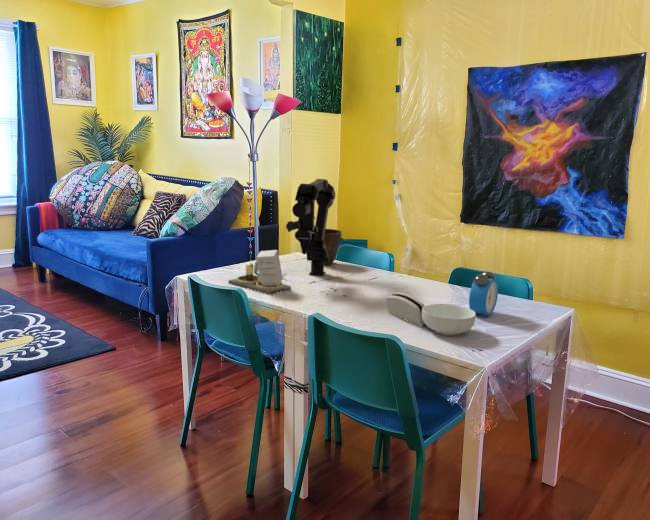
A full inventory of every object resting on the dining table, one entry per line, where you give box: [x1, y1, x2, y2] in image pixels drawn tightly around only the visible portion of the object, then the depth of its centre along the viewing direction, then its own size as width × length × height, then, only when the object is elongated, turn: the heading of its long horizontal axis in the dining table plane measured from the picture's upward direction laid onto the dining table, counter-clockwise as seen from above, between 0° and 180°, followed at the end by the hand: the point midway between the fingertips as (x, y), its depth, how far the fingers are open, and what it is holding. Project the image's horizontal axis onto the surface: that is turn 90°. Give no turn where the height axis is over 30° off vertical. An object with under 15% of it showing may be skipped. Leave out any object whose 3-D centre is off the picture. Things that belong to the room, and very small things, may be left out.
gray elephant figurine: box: [253, 259, 259, 274], centre depth 246 cm, size 9×12×8 cm
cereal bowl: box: [422, 303, 477, 336], centre depth 177 cm, size 17×17×7 cm
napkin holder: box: [386, 292, 426, 327], centre depth 188 cm, size 17×5×10 cm, turn 35°
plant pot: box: [324, 228, 343, 266], centre depth 268 cm, size 15×15×16 cm
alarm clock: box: [468, 271, 499, 318], centre depth 196 cm, size 13×6×15 cm, turn 144°
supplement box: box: [256, 249, 283, 286], centre depth 220 cm, size 7×7×13 cm
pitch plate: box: [228, 262, 292, 295], centre depth 224 cm, size 24×12×8 cm, turn 50°
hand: (306, 252), depth 230 cm, fingers open, 9 cm apart
